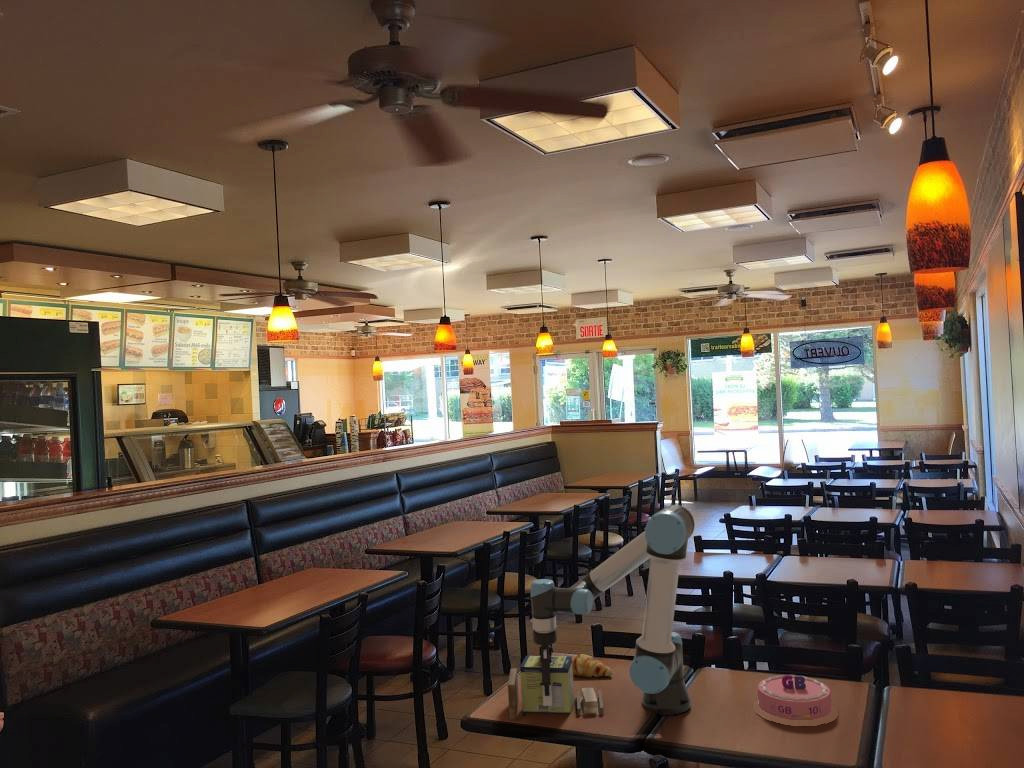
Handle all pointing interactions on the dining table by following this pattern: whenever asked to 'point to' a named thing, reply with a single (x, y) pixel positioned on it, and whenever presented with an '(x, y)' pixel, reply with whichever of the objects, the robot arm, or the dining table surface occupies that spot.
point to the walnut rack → (515, 700)
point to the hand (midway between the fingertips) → (548, 696)
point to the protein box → (559, 685)
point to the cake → (794, 697)
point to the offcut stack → (589, 700)
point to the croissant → (589, 667)
